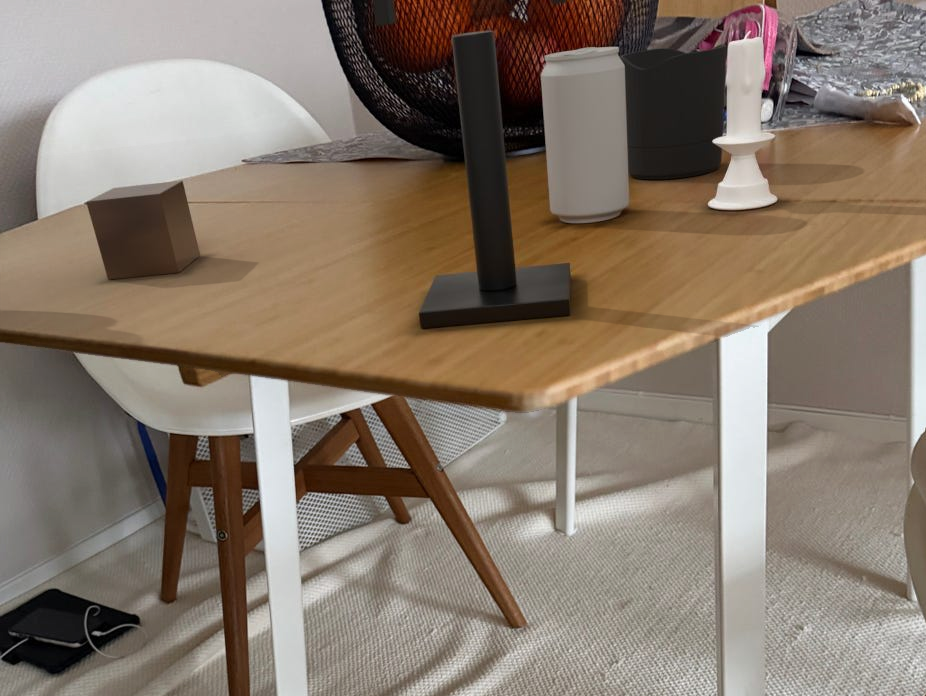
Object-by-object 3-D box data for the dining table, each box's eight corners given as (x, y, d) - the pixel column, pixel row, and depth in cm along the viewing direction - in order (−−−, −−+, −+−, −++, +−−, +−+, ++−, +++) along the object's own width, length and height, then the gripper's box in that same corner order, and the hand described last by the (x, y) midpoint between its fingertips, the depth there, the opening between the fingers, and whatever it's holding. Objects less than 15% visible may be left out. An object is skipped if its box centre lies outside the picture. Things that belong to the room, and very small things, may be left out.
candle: (781, 195, 87) (787, 24, 81) (771, 209, 83) (776, 31, 77) (715, 198, 89) (715, 31, 83) (701, 212, 85) (701, 38, 79)
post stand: (420, 328, 66) (382, 48, 58) (436, 290, 73) (404, 37, 66) (570, 315, 65) (551, 27, 57) (570, 277, 72) (554, 19, 65)
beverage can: (539, 226, 88) (526, 58, 81) (567, 208, 92) (557, 48, 86) (614, 224, 85) (607, 51, 79) (640, 206, 90) (635, 41, 83)
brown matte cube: (107, 279, 88) (85, 201, 85) (133, 262, 93) (113, 187, 90) (178, 272, 88) (159, 193, 84) (200, 255, 93) (182, 180, 90)
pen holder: (705, 158, 106) (705, 42, 101) (740, 171, 98) (742, 45, 93) (612, 171, 106) (607, 55, 100) (639, 185, 98) (635, 60, 92)
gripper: (652, -573, 51) (664, -14, 63) (206, -488, 54) (297, 33, 65) (663, -648, 45) (674, -10, 56) (156, -548, 47) (267, 41, 59)
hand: (471, 13), depth 61 cm, fingers closed on ring, 9 cm apart
